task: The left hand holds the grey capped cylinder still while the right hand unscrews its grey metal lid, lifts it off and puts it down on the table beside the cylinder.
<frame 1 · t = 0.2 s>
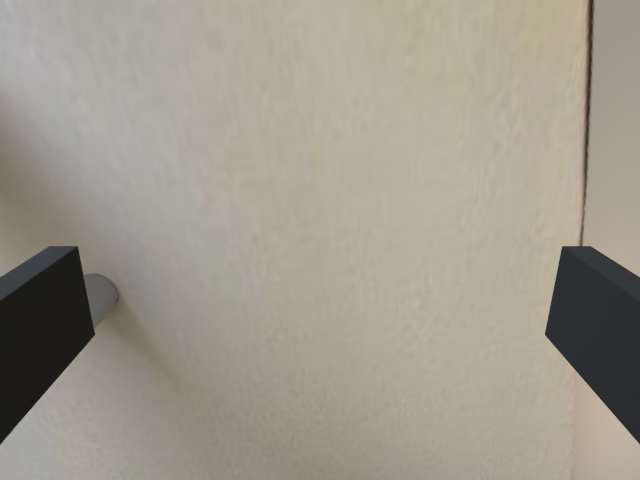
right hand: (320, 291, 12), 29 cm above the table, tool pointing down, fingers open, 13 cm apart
grey capped cylinder: (97, 293, 45), on the table
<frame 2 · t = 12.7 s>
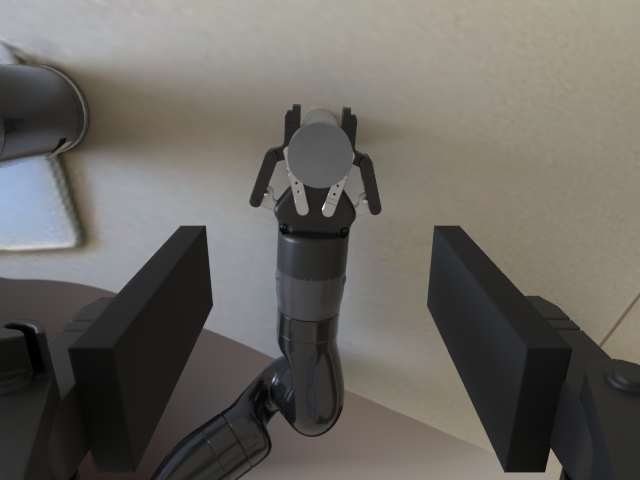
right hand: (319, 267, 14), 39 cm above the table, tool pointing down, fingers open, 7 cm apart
left hand: (322, 107, 43), fingers closed on grey capped cylinder, 4 cm apart
lid: (320, 155, 34), point 18 cm above the table, screwed on, not yet turned
grey capped cylinder: (320, 128, 51), on the table, touching left hand
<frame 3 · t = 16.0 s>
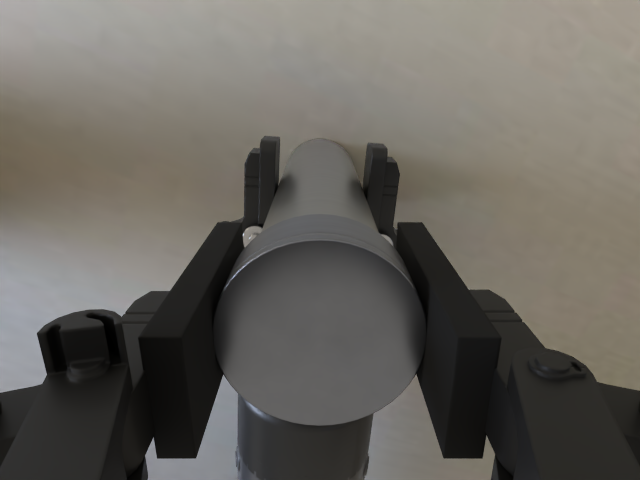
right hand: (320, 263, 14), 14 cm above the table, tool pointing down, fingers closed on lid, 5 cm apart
lid: (319, 332, 11), point 18 cm above the table, screwed on, not yet turned, touching right hand
grey capped cylinder: (319, 173, 28), on the table, touching left hand
when the right hand's fingers open (14 cm above the table, at t = 17.3 s): lid stays where it is, point 18 cm above the table.
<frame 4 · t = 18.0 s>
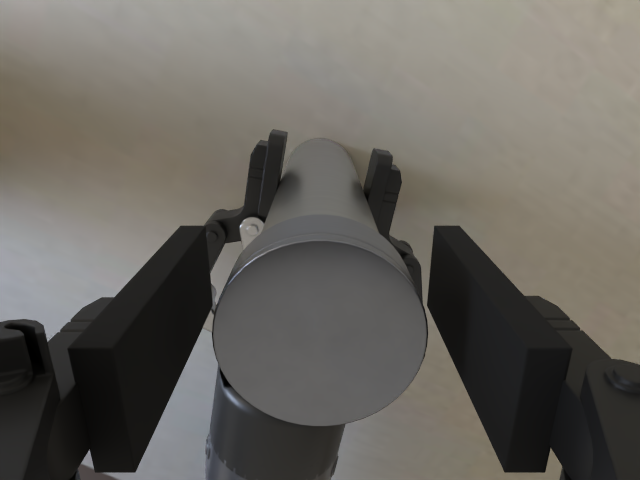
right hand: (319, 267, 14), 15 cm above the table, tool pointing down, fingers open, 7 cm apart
lid: (320, 332, 10), point 18 cm above the table, turned 86° so far, risen 0.3 cm, still on its thread
grey capped cylinder: (320, 172, 28), on the table, touching left hand
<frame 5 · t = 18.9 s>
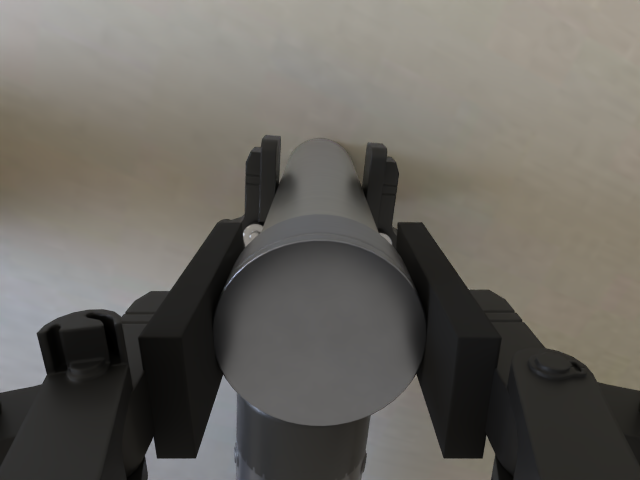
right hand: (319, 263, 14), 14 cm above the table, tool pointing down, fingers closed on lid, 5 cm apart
lid: (319, 332, 11), point 18 cm above the table, turned 86° so far, risen 0.2 cm, still on its thread, touching right hand
grey capped cylinder: (319, 172, 28), on the table, touching left hand
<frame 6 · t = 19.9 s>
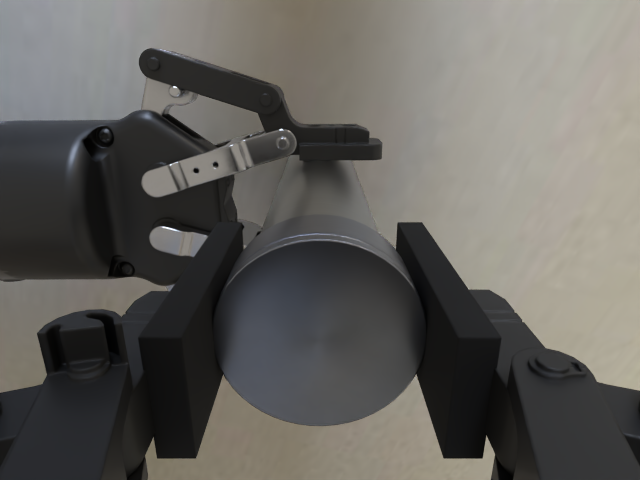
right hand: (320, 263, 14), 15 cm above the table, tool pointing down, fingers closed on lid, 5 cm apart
left hand: (376, 199, 22), fingers closed on grey capped cylinder, 4 cm apart
lid: (319, 332, 11), point 19 cm above the table, off its thread, touching right hand
grey capped cylinder: (319, 171, 28), on the table, touching left hand
when the right hand's fingers open (0 cm above the table, at t = 27.9 s): lid drops 3 cm, point 2 cm above the table.
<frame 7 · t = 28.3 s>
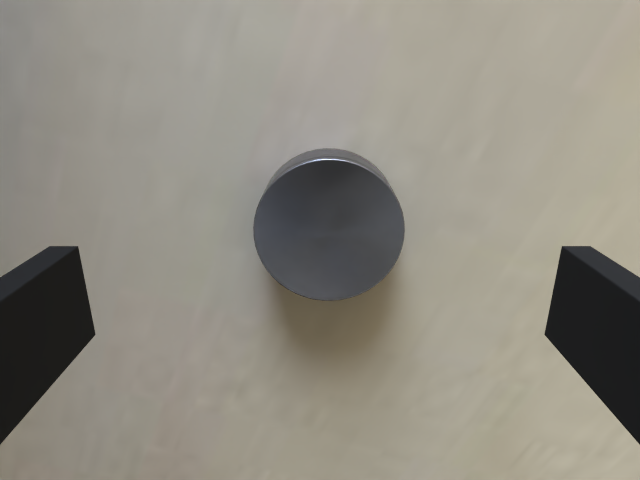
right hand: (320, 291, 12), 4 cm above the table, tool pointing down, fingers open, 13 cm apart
lid: (328, 230, 15), point 2 cm above the table, off its thread
when the left hand's fingers open (7 cm above the table, at t = 28.4 s): grey capped cylinder stays where it is, on the table.
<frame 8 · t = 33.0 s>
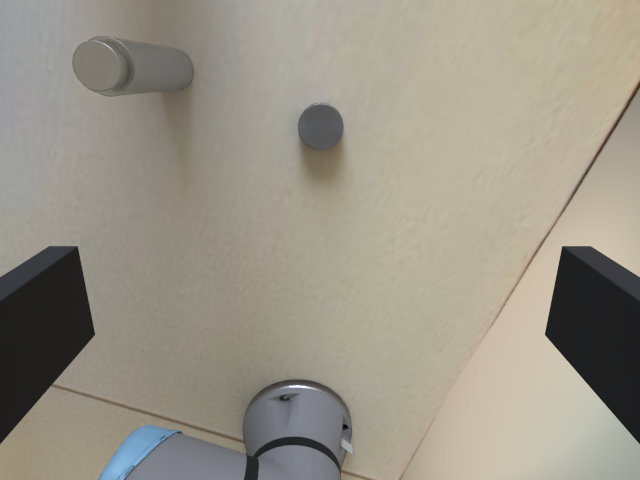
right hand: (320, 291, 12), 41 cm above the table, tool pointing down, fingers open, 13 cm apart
lid: (320, 126, 49), point 2 cm above the table, off its thread
grey capped cylinder: (174, 69, 49), on the table
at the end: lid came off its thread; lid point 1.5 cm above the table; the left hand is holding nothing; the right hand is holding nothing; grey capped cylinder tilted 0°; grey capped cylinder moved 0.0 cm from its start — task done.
